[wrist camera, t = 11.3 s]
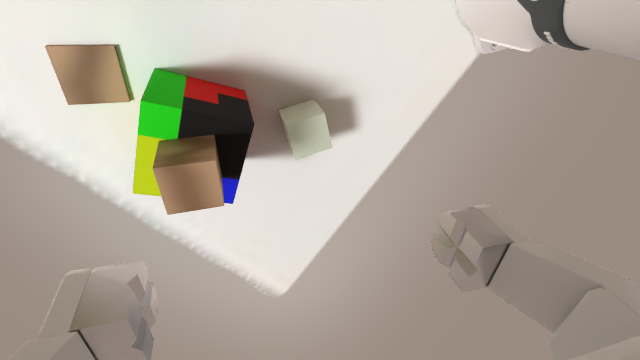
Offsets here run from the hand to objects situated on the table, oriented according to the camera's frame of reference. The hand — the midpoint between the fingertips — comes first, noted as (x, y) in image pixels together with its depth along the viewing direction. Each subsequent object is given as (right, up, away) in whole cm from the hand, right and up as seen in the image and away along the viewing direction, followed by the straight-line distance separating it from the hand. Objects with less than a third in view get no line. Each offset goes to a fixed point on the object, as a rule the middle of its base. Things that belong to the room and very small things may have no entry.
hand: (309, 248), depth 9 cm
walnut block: (-12, +4, +24) cm, 27 cm away
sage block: (-2, +10, +36) cm, 37 cm away
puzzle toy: (-15, +10, +32) cm, 37 cm away
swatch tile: (-24, +13, +26) cm, 38 cm away
